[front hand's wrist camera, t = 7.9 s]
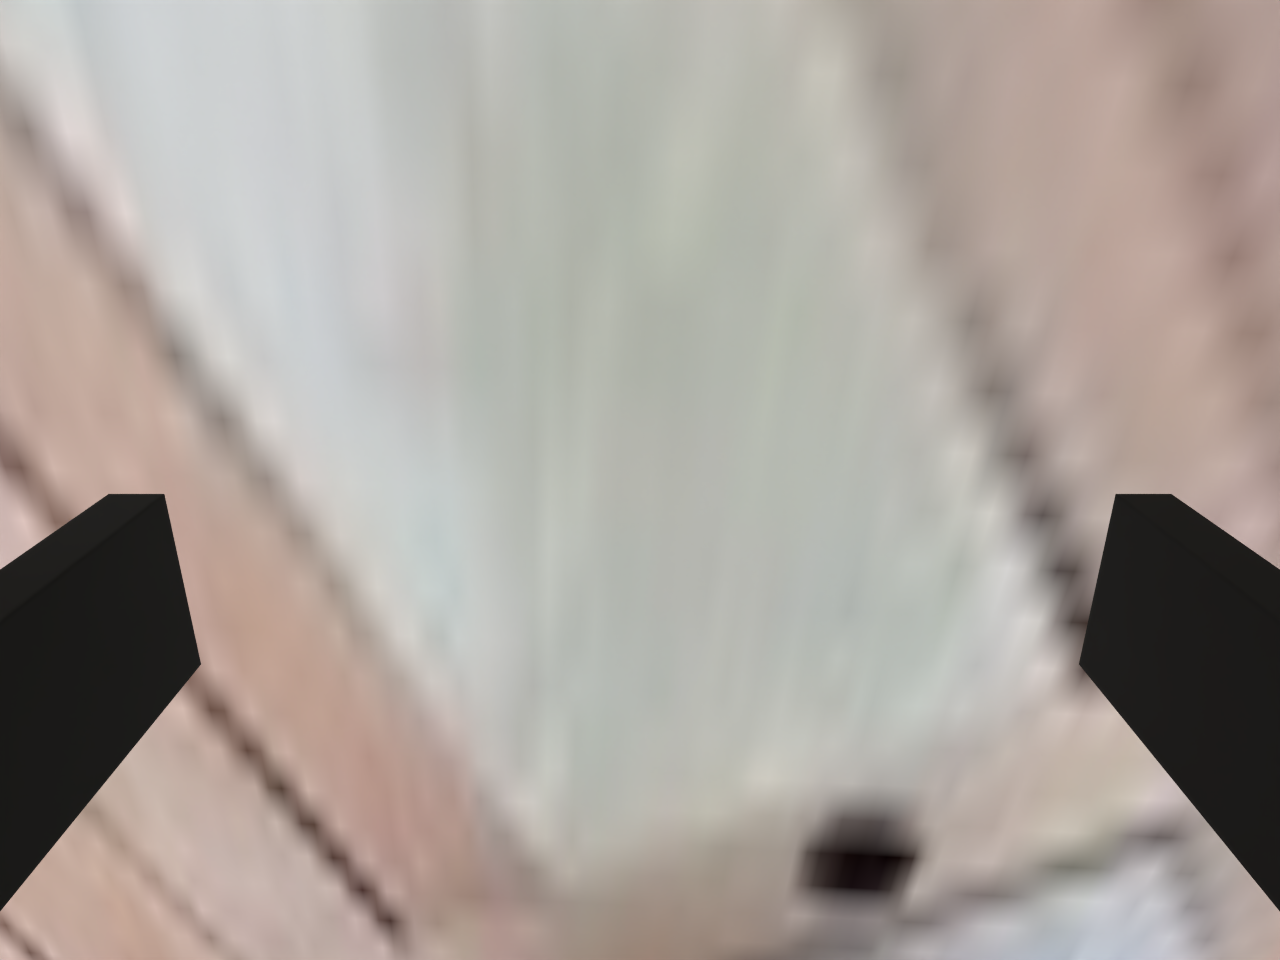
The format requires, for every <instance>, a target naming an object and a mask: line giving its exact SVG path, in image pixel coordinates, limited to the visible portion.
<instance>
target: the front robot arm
mask: <svg viewBox="0 0 1280 960" xmlns="http://www.w3.org/2000/svg"><path fill="white" fill-rule="evenodd" d="M200 665H201V662H200V657H199V653H198V648H197V644H196V639H195V634H194V630H193V625H192V620H191V616H190V611H189V606H188V602H187V597H186V593H185V588H184V583H183V579H182V574H181V569H180V565H179V560H178V555H177V551H176V546H175V542H174V537H173V532H172V528H171V523H170V518H169V514H168V509H167V504H166V500H165V495H164V494H108V495H107V496H105V497H104V498H102V499H101V500H100V501H98V502H97V503H95V504H94V505H92V506H91V507H89V508H88V509H87V510H85V511H84V512H82V513H81V514H79V515H78V516H77V517H75V518H74V519H72V520H71V521H69V522H68V523H67V524H65V525H64V526H62V527H61V528H59V529H58V530H56V531H55V532H54V533H52V534H51V535H49V536H48V537H46V538H45V539H44V540H42V541H41V542H39V543H38V544H36V545H35V546H33V547H32V548H31V549H29V550H28V551H26V552H25V553H23V554H22V555H21V556H19V557H18V558H16V559H15V560H13V561H12V562H11V563H9V564H8V565H6V566H5V567H3V568H2V569H0V911H1V910H2V908H3V907H4V906H5V905H6V903H7V902H8V901H9V900H10V899H11V897H12V896H13V895H14V894H15V892H16V891H17V890H18V889H19V887H20V886H21V885H22V884H23V883H24V881H25V880H26V879H27V878H28V876H29V875H30V874H31V873H32V871H33V870H34V869H35V868H36V867H37V865H38V864H39V863H40V862H41V860H42V859H43V858H44V857H45V855H46V854H47V853H48V852H49V851H50V849H51V848H52V847H53V846H54V844H55V843H56V842H57V841H58V839H59V838H60V837H61V836H62V835H63V833H64V832H65V831H66V830H67V828H68V827H69V826H70V825H71V824H72V822H73V821H74V820H75V819H76V817H77V816H78V815H79V814H80V812H81V811H82V810H83V809H84V808H85V806H86V805H87V804H88V803H89V801H90V800H91V799H92V798H93V796H94V795H95V794H96V793H97V792H98V790H99V789H100V788H101V787H102V785H103V784H104V783H105V782H106V780H107V779H108V778H109V777H110V776H111V774H112V773H113V772H114V771H115V769H116V768H117V767H118V766H119V764H120V763H121V762H122V761H123V760H124V758H125V757H126V756H127V755H128V753H129V752H130V751H131V750H132V748H133V747H134V746H135V745H136V744H137V742H138V741H139V740H140V739H141V737H142V736H143V735H144V734H145V732H146V731H147V730H148V729H149V728H150V726H151V725H152V724H153V723H154V721H155V720H156V719H157V718H158V716H159V715H160V714H161V713H162V712H163V710H164V709H165V708H166V707H167V705H168V704H169V703H170V702H171V700H172V699H173V698H174V697H175V696H176V694H177V693H178V692H179V691H180V689H181V688H182V687H183V686H184V684H185V683H186V682H187V681H188V680H189V678H190V677H191V676H192V675H193V673H194V672H195V671H196V670H197V668H198V667H199V666H200ZM1079 665H1080V666H1081V667H1082V668H1083V670H1084V671H1085V672H1086V673H1087V675H1088V676H1089V677H1090V678H1091V680H1092V681H1093V682H1094V683H1095V684H1096V686H1097V687H1098V688H1099V689H1100V691H1101V692H1102V693H1103V694H1104V696H1105V697H1106V698H1107V699H1108V700H1109V702H1110V703H1111V704H1112V705H1113V707H1114V708H1115V709H1116V710H1117V712H1118V713H1119V714H1120V715H1121V716H1122V718H1123V719H1124V720H1125V721H1126V723H1127V724H1128V725H1129V726H1130V728H1131V729H1132V730H1133V731H1134V732H1135V734H1136V735H1137V736H1138V737H1139V739H1140V740H1141V741H1142V742H1143V744H1144V745H1145V746H1146V747H1147V748H1148V750H1149V751H1150V752H1151V753H1152V755H1153V756H1154V757H1155V758H1156V760H1157V761H1158V762H1159V763H1160V764H1161V766H1162V767H1163V768H1164V769H1165V771H1166V772H1167V773H1168V774H1169V776H1170V777H1171V778H1172V779H1173V780H1174V782H1175V783H1176V784H1177V785H1178V787H1179V788H1180V789H1181V790H1182V792H1183V793H1184V794H1185V795H1186V796H1187V798H1188V799H1189V800H1190V801H1191V803H1192V804H1193V805H1194V806H1195V808H1196V809H1197V810H1198V811H1199V812H1200V814H1201V815H1202V816H1203V817H1204V819H1205V820H1206V821H1207V822H1208V824H1209V825H1210V826H1211V827H1212V828H1213V830H1214V831H1215V832H1216V833H1217V835H1218V836H1219V837H1220V838H1221V839H1222V841H1223V842H1224V843H1225V844H1226V846H1227V847H1228V848H1229V849H1230V851H1231V852H1232V853H1233V854H1234V855H1235V857H1236V858H1237V859H1238V860H1239V862H1240V863H1241V864H1242V865H1243V867H1244V868H1245V869H1246V870H1247V871H1248V873H1249V874H1250V875H1251V876H1252V878H1253V879H1254V880H1255V881H1256V883H1257V884H1258V885H1259V886H1260V887H1261V889H1262V890H1263V891H1264V892H1265V894H1266V895H1267V896H1268V897H1269V899H1270V900H1271V901H1272V902H1273V903H1274V905H1275V906H1276V907H1277V908H1278V910H1279V911H1280V569H1278V568H1277V567H1275V566H1274V565H1272V564H1271V563H1269V562H1268V561H1267V560H1265V559H1264V558H1262V557H1261V556H1259V555H1258V554H1257V553H1255V552H1254V551H1252V550H1251V549H1249V548H1248V547H1247V546H1245V545H1244V544H1242V543H1241V542H1239V541H1238V540H1236V539H1235V538H1234V537H1232V536H1231V535H1229V534H1228V533H1226V532H1225V531H1224V530H1222V529H1221V528H1219V527H1218V526H1216V525H1215V524H1213V523H1212V522H1211V521H1209V520H1208V519H1206V518H1205V517H1203V516H1202V515H1201V514H1199V513H1198V512H1196V511H1195V510H1193V509H1192V508H1191V507H1189V506H1188V505H1186V504H1185V503H1183V502H1182V501H1180V500H1179V499H1178V498H1176V497H1175V496H1173V495H1172V494H1116V495H1115V500H1114V504H1113V509H1112V514H1111V518H1110V523H1109V528H1108V532H1107V537H1106V542H1105V546H1104V551H1103V555H1102V560H1101V565H1100V569H1099V574H1098V579H1097V583H1096V588H1095V593H1094V597H1093V602H1092V606H1091V611H1090V616H1089V620H1088V625H1087V630H1086V634H1085V639H1084V644H1083V648H1082V653H1081V657H1080V662H1079Z"/></svg>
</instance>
